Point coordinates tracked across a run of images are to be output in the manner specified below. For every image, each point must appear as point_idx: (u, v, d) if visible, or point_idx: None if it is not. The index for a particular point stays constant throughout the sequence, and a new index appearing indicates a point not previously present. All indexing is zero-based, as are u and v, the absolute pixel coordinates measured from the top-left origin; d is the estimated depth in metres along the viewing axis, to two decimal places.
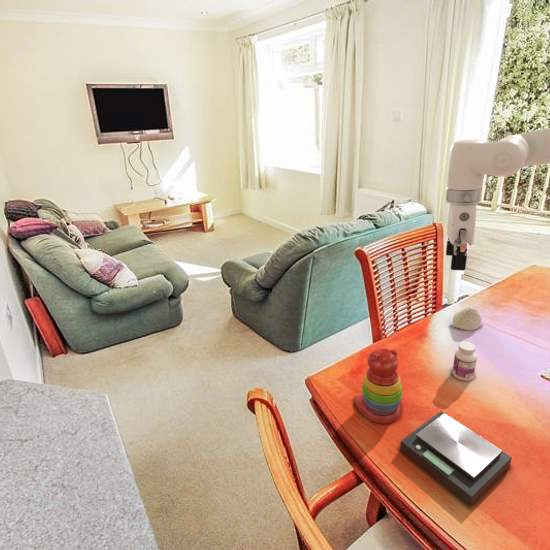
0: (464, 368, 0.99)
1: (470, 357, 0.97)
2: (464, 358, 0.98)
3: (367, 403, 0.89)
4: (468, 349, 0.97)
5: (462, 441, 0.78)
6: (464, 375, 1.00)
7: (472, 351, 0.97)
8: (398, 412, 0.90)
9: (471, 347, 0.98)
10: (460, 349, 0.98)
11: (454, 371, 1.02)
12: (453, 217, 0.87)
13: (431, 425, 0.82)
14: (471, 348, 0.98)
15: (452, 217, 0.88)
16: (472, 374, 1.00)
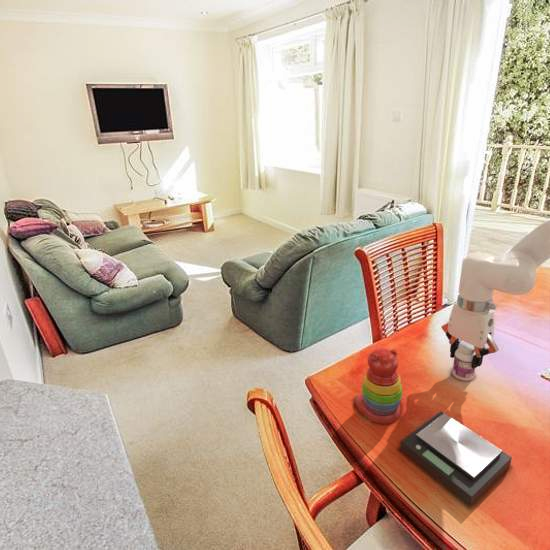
0: (464, 368, 0.99)
1: (470, 357, 0.98)
2: (464, 358, 0.98)
3: (367, 403, 0.89)
4: (468, 349, 0.97)
5: (462, 441, 0.78)
6: (464, 375, 1.00)
7: (472, 351, 0.97)
8: (398, 412, 0.90)
9: (471, 347, 0.98)
10: (460, 349, 0.98)
11: (454, 371, 1.02)
12: (482, 326, 0.91)
13: (431, 425, 0.82)
14: (471, 347, 0.98)
15: (478, 325, 0.92)
16: (472, 374, 1.00)
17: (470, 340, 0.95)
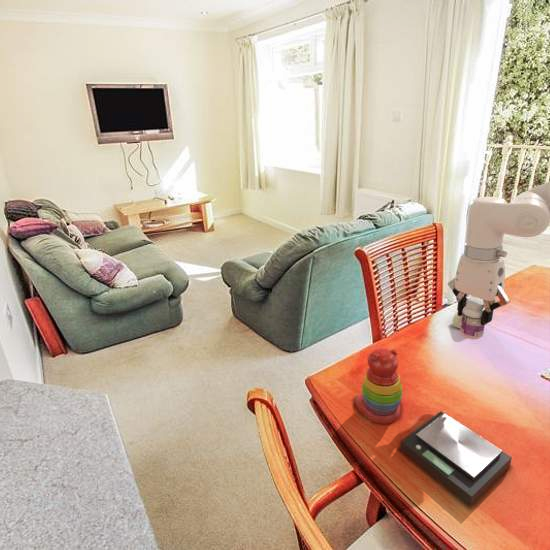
0: (472, 325, 0.92)
1: (479, 312, 0.91)
2: (472, 314, 0.91)
3: (367, 403, 0.89)
4: (477, 304, 0.91)
5: (462, 441, 0.78)
6: (473, 333, 0.93)
7: (481, 306, 0.91)
8: (398, 412, 0.90)
9: (480, 302, 0.91)
10: (468, 305, 0.92)
11: (462, 330, 0.95)
12: (491, 275, 0.85)
13: (431, 425, 0.82)
14: (480, 303, 0.91)
15: (488, 275, 0.85)
16: (481, 332, 0.93)
17: (479, 293, 0.88)
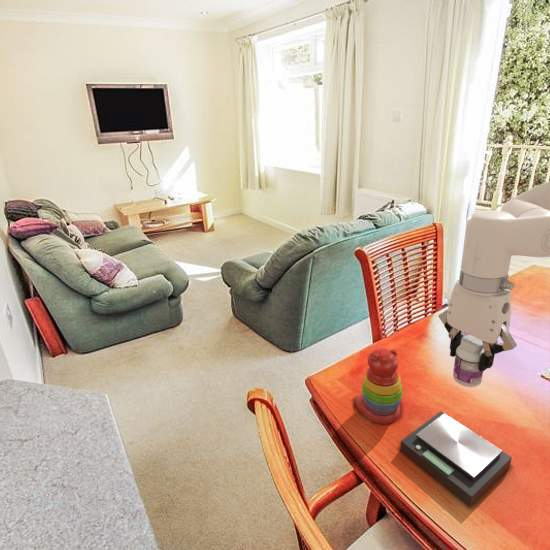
0: (468, 370, 0.73)
1: (477, 355, 0.72)
2: (468, 357, 0.72)
3: (367, 403, 0.89)
4: (474, 345, 0.72)
5: (462, 441, 0.78)
6: (468, 380, 0.74)
7: (479, 348, 0.72)
8: (398, 412, 0.90)
9: (478, 342, 0.72)
10: (463, 345, 0.73)
11: (455, 374, 0.76)
12: (493, 312, 0.66)
13: (431, 425, 0.82)
14: (478, 343, 0.72)
15: (489, 311, 0.66)
16: (479, 379, 0.74)
17: (477, 333, 0.69)
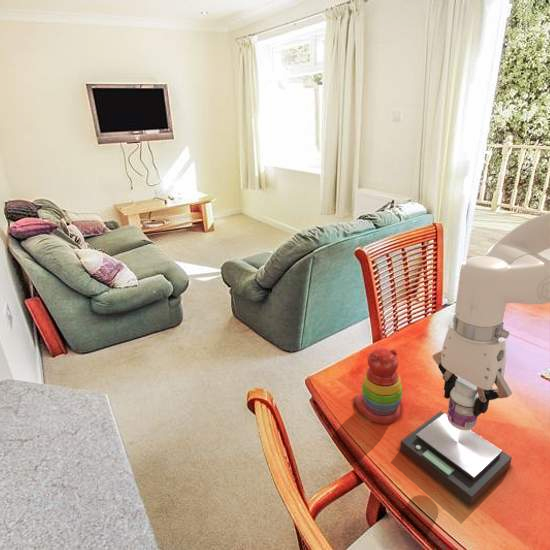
0: (462, 414, 0.72)
1: (471, 400, 0.71)
2: (463, 401, 0.71)
3: (367, 403, 0.89)
4: (468, 389, 0.70)
5: (462, 441, 0.78)
6: (463, 424, 0.73)
7: (474, 392, 0.70)
8: (398, 412, 0.90)
9: (472, 386, 0.71)
10: (457, 389, 0.72)
11: (449, 417, 0.75)
12: (488, 360, 0.64)
13: (431, 425, 0.82)
14: (472, 387, 0.71)
15: (483, 359, 0.65)
16: (474, 422, 0.73)
17: (471, 378, 0.68)
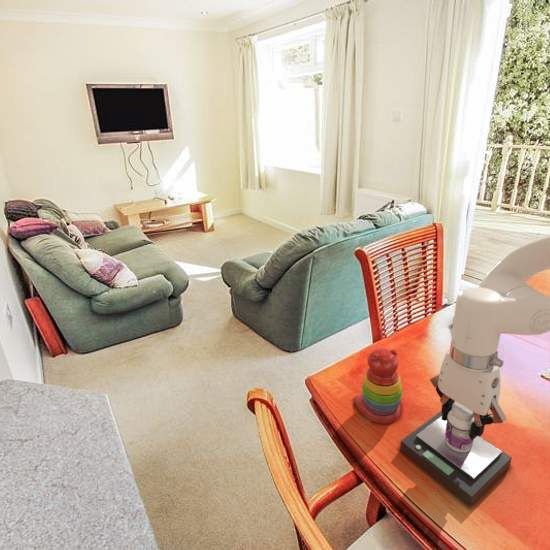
0: (459, 437, 0.74)
1: (468, 423, 0.73)
2: (459, 425, 0.73)
3: (367, 403, 0.89)
4: (465, 413, 0.73)
5: None
6: (459, 446, 0.75)
7: (470, 416, 0.73)
8: (398, 412, 0.90)
9: (469, 410, 0.73)
10: (454, 412, 0.74)
11: (447, 439, 0.77)
12: (483, 387, 0.67)
13: (431, 426, 0.83)
14: (468, 411, 0.73)
15: (479, 386, 0.67)
16: (470, 444, 0.75)
17: (467, 403, 0.70)
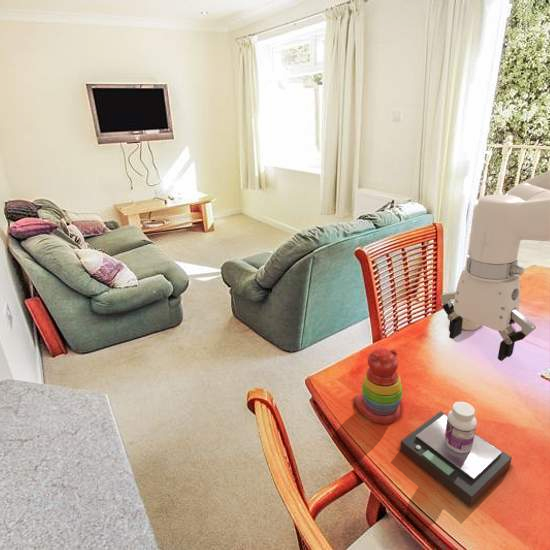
0: (459, 437, 0.74)
1: (468, 424, 0.73)
2: (459, 426, 0.73)
3: (367, 403, 0.89)
4: (465, 414, 0.73)
5: None
6: (459, 447, 0.75)
7: (470, 417, 0.73)
8: (398, 412, 0.90)
9: (469, 411, 0.73)
10: (454, 413, 0.74)
11: (447, 439, 0.77)
12: (503, 299, 0.64)
13: (431, 426, 0.83)
14: (469, 412, 0.73)
15: (498, 298, 0.65)
16: (470, 445, 0.75)
17: (486, 321, 0.68)
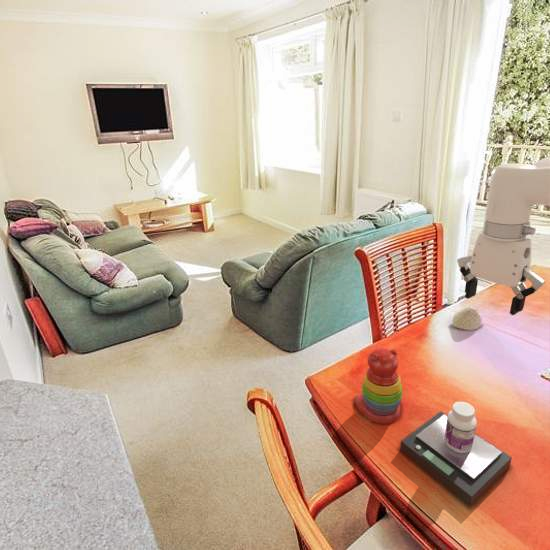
0: (459, 437, 0.74)
1: (468, 424, 0.73)
2: (459, 426, 0.73)
3: (367, 403, 0.89)
4: (465, 414, 0.73)
5: None
6: (459, 447, 0.75)
7: (470, 417, 0.73)
8: (398, 412, 0.90)
9: (469, 411, 0.73)
10: (454, 413, 0.74)
11: (447, 439, 0.77)
12: (516, 256, 0.72)
13: (431, 426, 0.83)
14: (469, 412, 0.73)
15: (512, 256, 0.72)
16: (470, 445, 0.75)
17: (500, 278, 0.76)
